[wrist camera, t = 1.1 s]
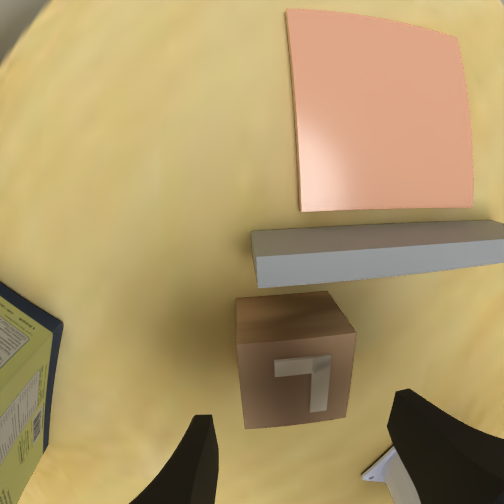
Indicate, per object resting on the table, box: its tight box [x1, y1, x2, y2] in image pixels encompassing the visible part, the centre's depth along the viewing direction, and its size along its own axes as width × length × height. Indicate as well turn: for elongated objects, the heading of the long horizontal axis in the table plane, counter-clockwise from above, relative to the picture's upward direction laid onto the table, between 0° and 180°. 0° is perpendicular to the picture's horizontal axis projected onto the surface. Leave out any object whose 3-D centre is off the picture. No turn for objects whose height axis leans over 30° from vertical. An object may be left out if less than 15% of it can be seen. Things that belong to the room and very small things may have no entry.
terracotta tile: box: [285, 9, 473, 212], centre depth 15 cm, size 11×11×1 cm
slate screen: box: [251, 220, 504, 288], centre depth 14 cm, size 16×1×5 cm, turn 93°
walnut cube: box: [236, 291, 356, 429], centre depth 16 cm, size 5×5×5 cm
